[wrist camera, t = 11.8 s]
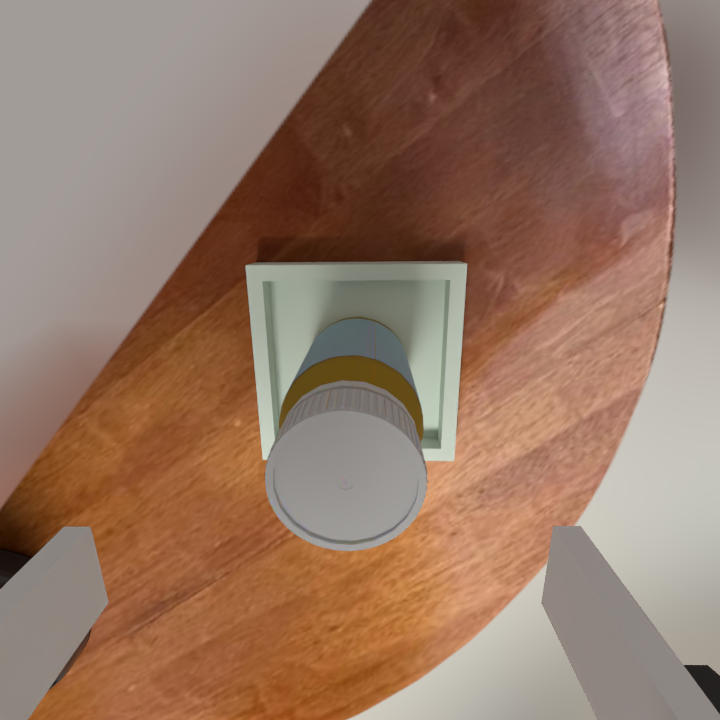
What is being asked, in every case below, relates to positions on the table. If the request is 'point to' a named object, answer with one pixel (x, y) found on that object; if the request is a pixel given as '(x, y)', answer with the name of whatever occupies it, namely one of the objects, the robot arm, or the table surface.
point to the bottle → (349, 441)
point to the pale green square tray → (369, 300)
